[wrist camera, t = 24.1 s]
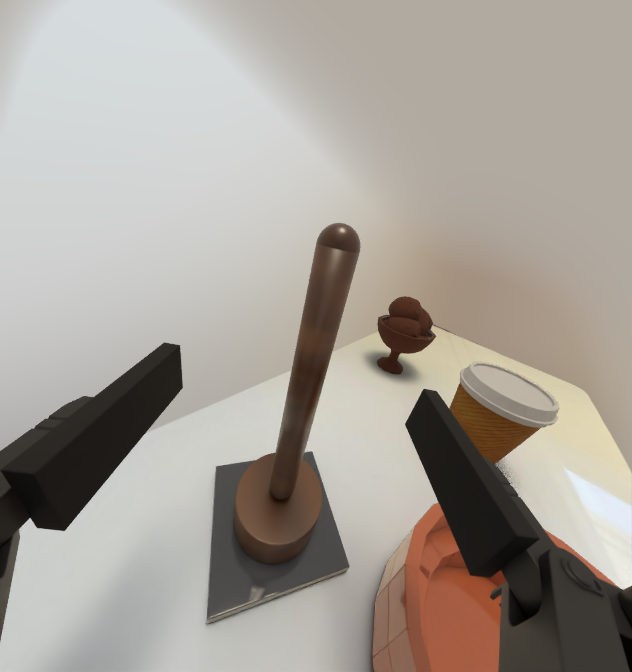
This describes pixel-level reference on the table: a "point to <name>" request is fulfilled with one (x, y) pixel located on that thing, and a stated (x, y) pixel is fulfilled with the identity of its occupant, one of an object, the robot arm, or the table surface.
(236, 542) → the dark grey square tile
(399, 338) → the ice cream bowl
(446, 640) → the terracotta round bowl
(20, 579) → the table surface
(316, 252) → the paper towel holder
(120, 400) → the robot arm
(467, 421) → the disposable coffee cup
